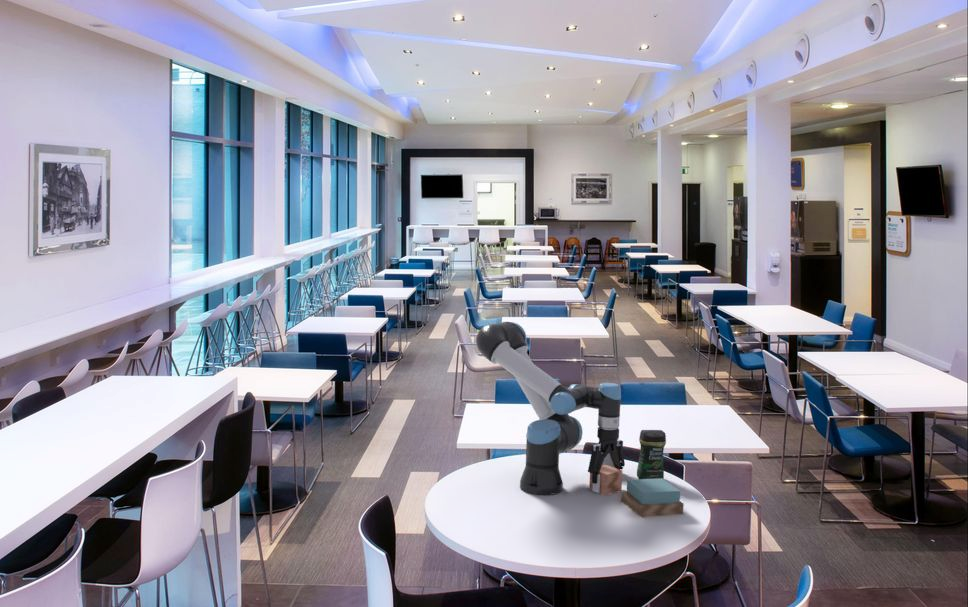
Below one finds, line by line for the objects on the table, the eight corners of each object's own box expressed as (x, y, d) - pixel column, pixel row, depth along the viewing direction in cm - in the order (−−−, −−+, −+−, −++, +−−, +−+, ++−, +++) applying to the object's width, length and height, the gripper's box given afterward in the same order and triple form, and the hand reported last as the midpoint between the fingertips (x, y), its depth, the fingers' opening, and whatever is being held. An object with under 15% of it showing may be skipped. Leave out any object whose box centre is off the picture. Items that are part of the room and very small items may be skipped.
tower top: (642, 504, 254) (643, 492, 254) (626, 491, 267) (627, 479, 266) (679, 502, 257) (680, 490, 257) (661, 489, 270) (662, 478, 269)
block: (606, 495, 272) (607, 474, 271) (589, 489, 278) (590, 468, 278) (621, 491, 277) (622, 470, 276) (604, 484, 283) (605, 464, 283)
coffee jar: (641, 482, 287) (644, 433, 285) (634, 475, 295) (636, 427, 293) (666, 482, 288) (669, 432, 286) (658, 475, 296) (661, 427, 294)
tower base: (641, 518, 252) (642, 506, 252) (620, 502, 267) (621, 491, 266) (682, 515, 257) (683, 503, 256) (660, 499, 271) (661, 488, 271)
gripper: (594, 434, 266) (592, 498, 268) (637, 425, 280) (634, 486, 282) (578, 429, 271) (576, 492, 274) (621, 420, 285) (618, 480, 288)
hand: (605, 489), depth 278 cm, fingers open, 9 cm apart
